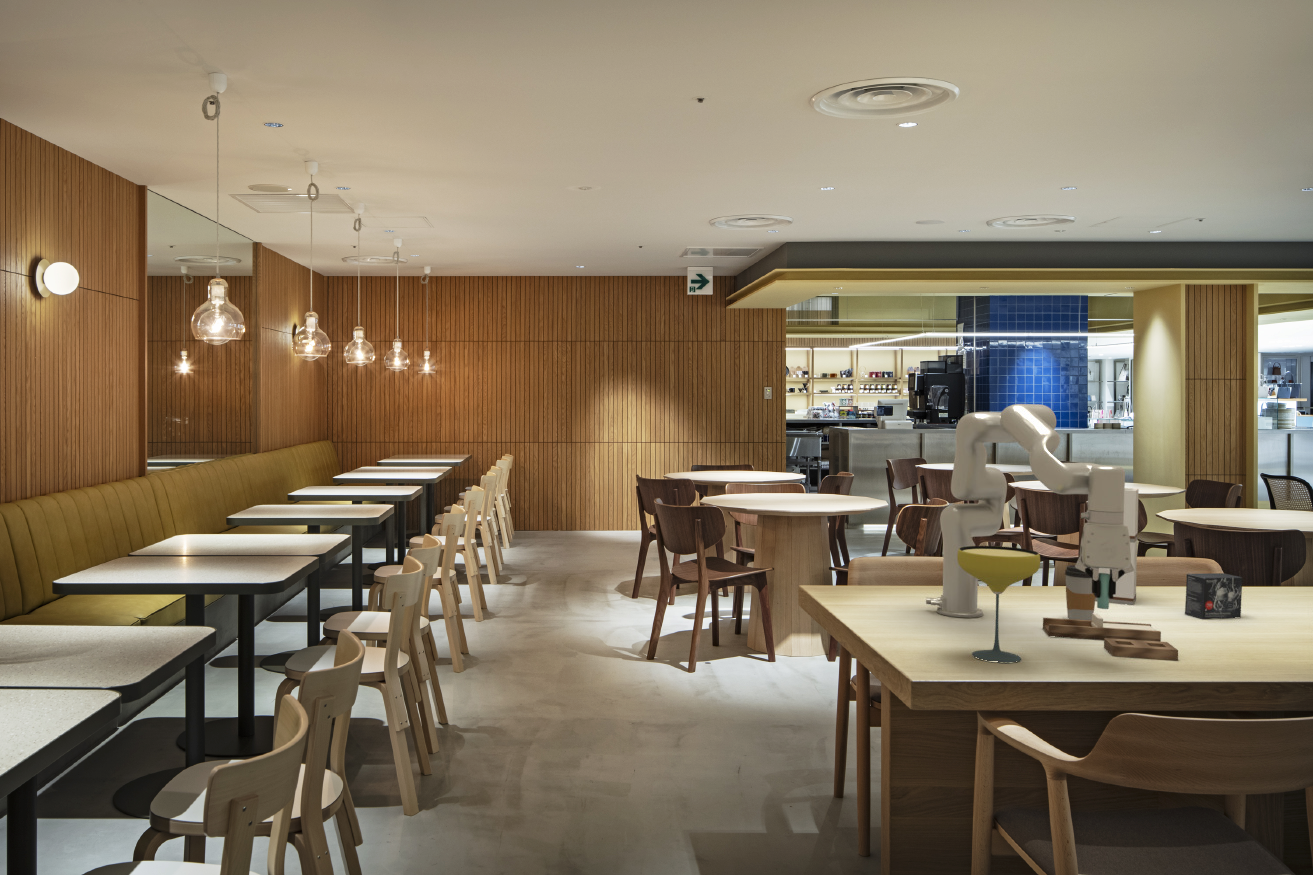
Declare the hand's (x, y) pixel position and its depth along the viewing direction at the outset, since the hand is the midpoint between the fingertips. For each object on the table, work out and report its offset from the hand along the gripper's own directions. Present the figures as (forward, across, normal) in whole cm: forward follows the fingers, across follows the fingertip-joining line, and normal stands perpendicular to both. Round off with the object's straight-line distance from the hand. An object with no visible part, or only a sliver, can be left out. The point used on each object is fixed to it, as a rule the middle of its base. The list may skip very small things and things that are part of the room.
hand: (1103, 596), depth 207 cm
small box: (+15, +43, +61) cm, 76 cm away
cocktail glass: (+15, -24, -5) cm, 29 cm away
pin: (+3, 0, 0) cm, 3 cm away
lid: (+13, +11, +25) cm, 30 cm away
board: (+15, +5, +25) cm, 29 cm away
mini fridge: (+15, +21, +78) cm, 82 cm away
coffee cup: (+15, +4, +43) cm, 46 cm away
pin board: (+15, +10, +8) cm, 20 cm away
